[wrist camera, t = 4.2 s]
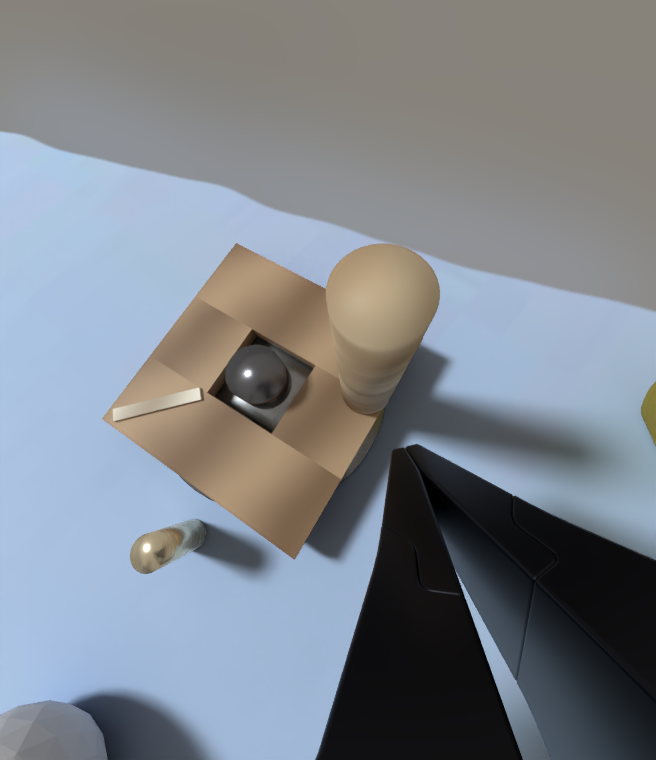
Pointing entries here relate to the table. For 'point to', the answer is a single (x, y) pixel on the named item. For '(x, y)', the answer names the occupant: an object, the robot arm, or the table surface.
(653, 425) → the flower pot
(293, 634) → the table surface
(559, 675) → the robot arm
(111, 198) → the table surface
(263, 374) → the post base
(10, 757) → the perfume bottle
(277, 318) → the flange plate
